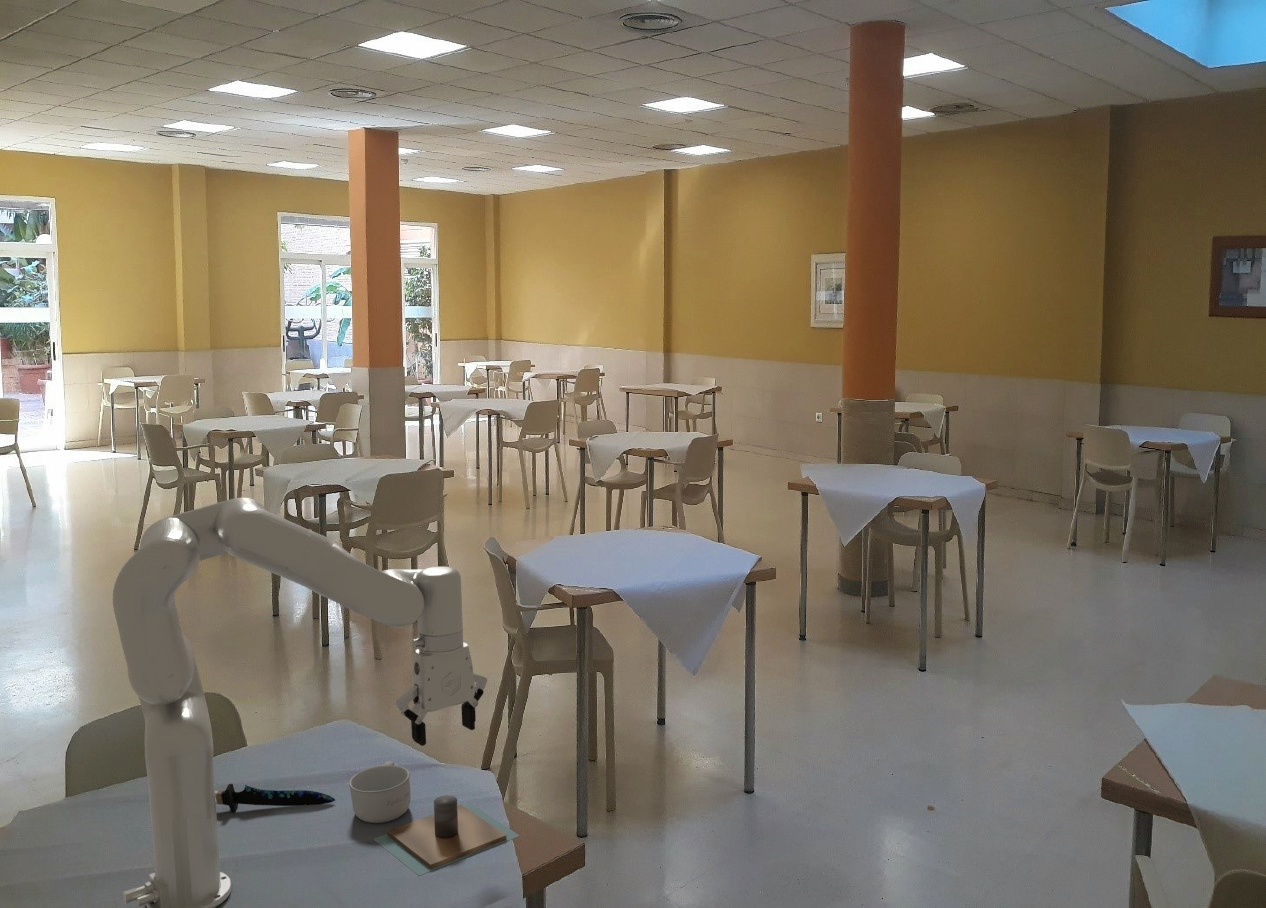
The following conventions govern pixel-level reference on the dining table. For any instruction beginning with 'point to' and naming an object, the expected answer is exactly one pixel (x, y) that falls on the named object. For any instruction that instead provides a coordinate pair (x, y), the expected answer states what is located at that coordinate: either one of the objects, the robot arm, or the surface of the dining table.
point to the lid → (446, 834)
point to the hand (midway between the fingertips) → (444, 735)
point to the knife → (269, 797)
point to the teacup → (380, 793)
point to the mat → (423, 869)
